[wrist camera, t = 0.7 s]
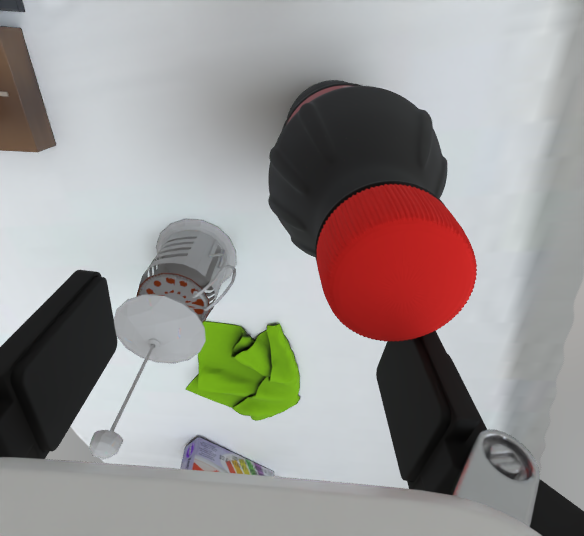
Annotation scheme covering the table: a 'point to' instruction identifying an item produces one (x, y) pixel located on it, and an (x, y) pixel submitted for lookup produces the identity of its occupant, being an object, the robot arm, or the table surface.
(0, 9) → the dark grey open box
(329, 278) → the cola bottle
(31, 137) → the block
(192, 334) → the french press
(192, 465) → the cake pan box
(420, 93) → the table surface
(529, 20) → the table surface
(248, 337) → the cloth
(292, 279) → the table surface
